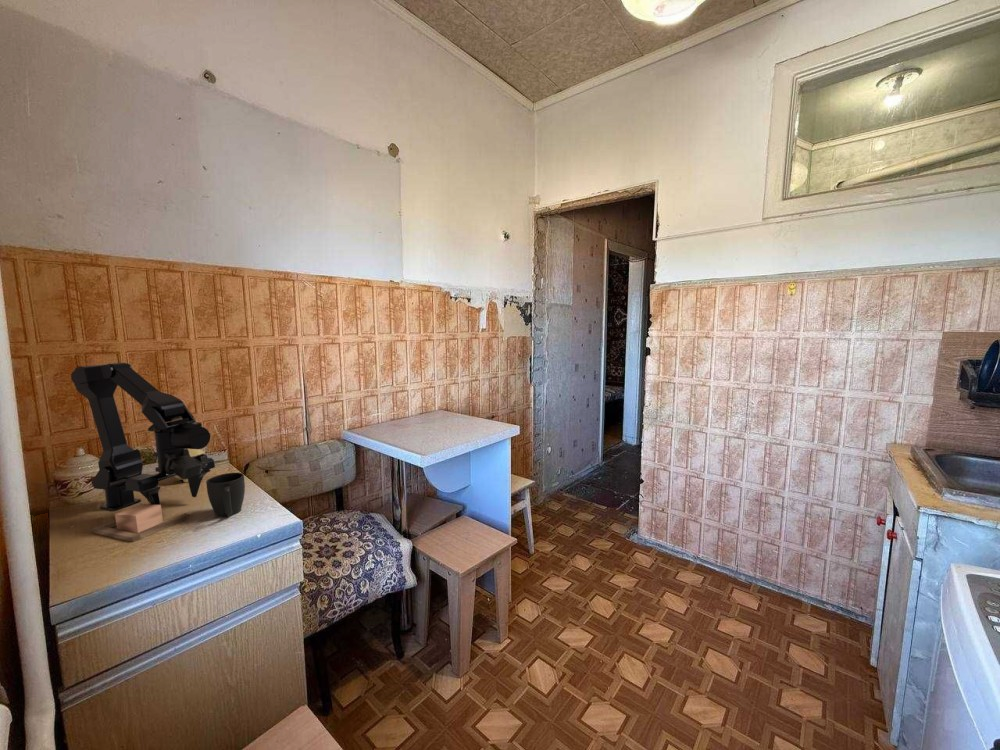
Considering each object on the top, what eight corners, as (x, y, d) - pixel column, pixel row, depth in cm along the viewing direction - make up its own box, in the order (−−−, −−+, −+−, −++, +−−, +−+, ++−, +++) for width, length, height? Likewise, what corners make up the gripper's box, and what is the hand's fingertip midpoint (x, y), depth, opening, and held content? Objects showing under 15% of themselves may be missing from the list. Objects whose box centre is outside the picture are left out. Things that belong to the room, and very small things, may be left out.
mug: (207, 529, 98) (203, 491, 97) (210, 510, 108) (207, 476, 107) (247, 519, 103) (244, 483, 101) (246, 503, 113) (243, 470, 112)
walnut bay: (92, 532, 97) (91, 528, 97) (150, 510, 109) (150, 506, 109) (133, 541, 93) (132, 537, 92) (189, 517, 104) (189, 514, 104)
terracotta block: (117, 532, 97) (115, 514, 97) (143, 520, 103) (141, 503, 103) (138, 533, 96) (135, 515, 96) (162, 521, 102) (160, 504, 102)
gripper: (150, 460, 95) (158, 523, 97) (226, 439, 113) (231, 493, 115) (120, 456, 99) (128, 517, 101) (198, 437, 116) (203, 489, 118)
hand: (176, 503), depth 108 cm, fingers open, 9 cm apart
